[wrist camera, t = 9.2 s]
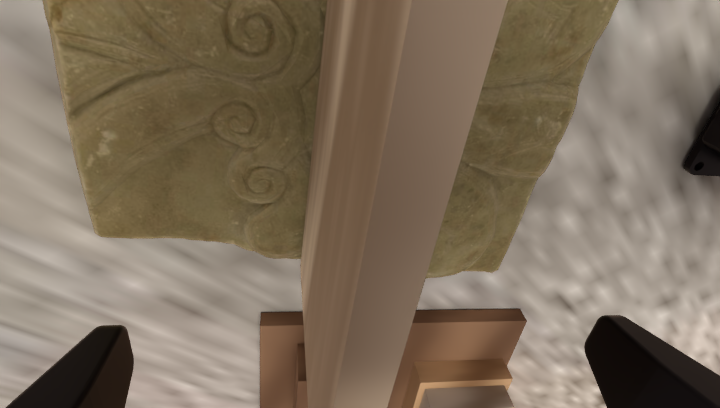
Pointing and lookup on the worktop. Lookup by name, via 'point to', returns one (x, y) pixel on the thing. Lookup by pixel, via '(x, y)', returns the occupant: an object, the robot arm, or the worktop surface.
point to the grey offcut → (467, 397)
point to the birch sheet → (383, 179)
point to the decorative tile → (287, 118)
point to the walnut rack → (424, 344)
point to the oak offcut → (454, 376)
